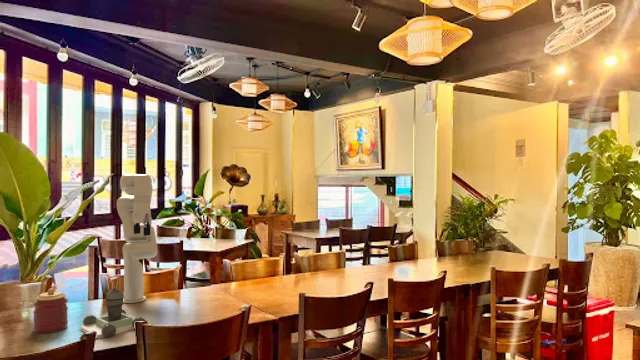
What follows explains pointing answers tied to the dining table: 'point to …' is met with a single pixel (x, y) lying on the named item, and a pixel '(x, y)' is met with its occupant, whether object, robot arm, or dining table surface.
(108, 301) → the beverage cup
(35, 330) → the canister
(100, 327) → the chassis bay
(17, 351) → the dining table surface
